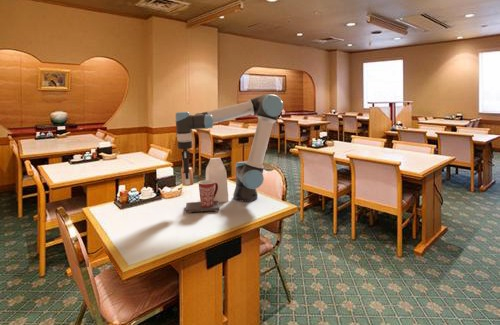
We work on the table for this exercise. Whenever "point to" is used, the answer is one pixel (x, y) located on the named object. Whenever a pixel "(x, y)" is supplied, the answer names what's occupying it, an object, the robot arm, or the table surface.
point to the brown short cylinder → (189, 174)
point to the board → (200, 207)
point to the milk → (218, 178)
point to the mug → (207, 192)
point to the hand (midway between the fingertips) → (187, 182)
